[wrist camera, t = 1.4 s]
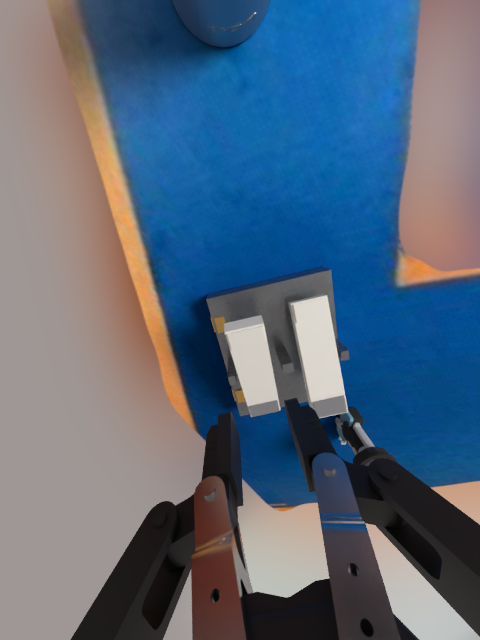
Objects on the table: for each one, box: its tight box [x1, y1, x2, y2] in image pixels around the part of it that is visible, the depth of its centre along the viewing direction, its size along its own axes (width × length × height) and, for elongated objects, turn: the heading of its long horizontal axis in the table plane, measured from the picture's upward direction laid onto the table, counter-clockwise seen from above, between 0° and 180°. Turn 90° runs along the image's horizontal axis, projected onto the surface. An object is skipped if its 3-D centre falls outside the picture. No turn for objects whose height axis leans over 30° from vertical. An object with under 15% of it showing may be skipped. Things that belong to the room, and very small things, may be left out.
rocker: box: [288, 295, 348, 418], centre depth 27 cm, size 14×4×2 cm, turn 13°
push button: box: [335, 408, 397, 466], centre depth 34 cm, size 7×5×10 cm
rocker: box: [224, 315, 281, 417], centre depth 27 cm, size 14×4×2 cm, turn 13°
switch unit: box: [206, 267, 349, 416], centre depth 30 cm, size 18×15×7 cm
